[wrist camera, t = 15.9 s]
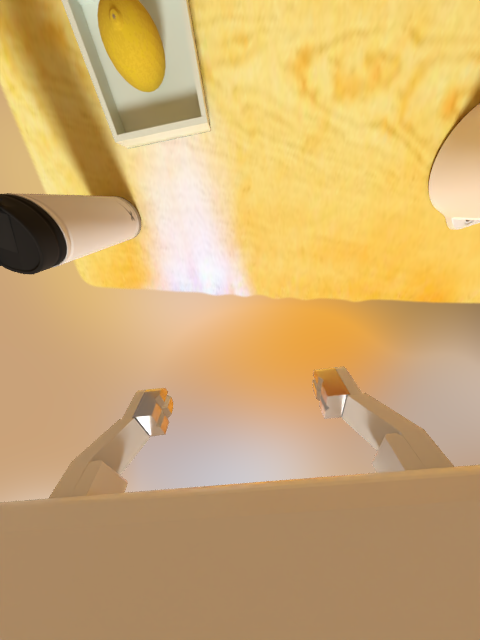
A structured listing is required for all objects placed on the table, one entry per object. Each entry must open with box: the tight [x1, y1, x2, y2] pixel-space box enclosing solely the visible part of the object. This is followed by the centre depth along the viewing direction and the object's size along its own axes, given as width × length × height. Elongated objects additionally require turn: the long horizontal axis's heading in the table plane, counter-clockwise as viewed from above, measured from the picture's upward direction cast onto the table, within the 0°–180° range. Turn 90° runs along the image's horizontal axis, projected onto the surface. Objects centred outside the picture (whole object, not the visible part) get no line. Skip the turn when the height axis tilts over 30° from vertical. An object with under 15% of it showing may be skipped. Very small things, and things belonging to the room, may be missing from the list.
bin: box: [62, 0, 211, 148], centre depth 22 cm, size 12×12×3 cm
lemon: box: [97, 0, 166, 92], centre depth 19 cm, size 6×6×8 cm
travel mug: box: [0, 193, 141, 274], centre depth 23 cm, size 6×7×20 cm
